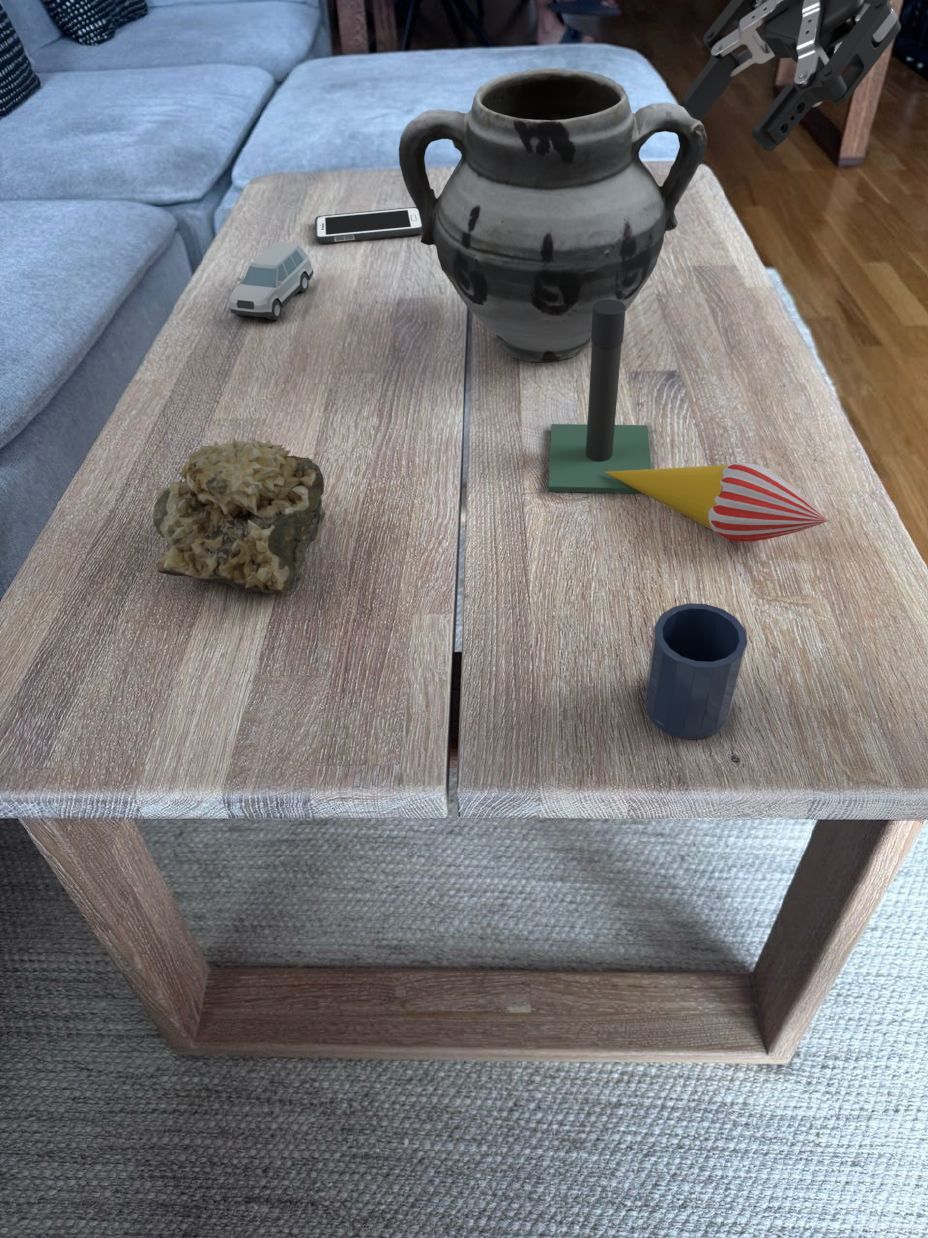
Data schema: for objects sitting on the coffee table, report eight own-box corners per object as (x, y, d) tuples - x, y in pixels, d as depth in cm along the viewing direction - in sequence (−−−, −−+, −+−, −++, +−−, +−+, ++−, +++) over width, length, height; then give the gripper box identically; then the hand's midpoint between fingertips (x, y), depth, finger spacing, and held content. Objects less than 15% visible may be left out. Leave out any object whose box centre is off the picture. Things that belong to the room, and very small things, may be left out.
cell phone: (425, 234, 121) (424, 227, 121) (315, 244, 121) (314, 237, 120) (420, 213, 127) (419, 205, 126) (315, 223, 126) (314, 215, 125)
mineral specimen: (123, 600, 72) (80, 498, 65) (193, 502, 81) (162, 404, 74) (295, 623, 69) (270, 519, 62) (348, 519, 78) (331, 418, 71)
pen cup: (724, 677, 63) (741, 604, 58) (733, 741, 59) (752, 668, 54) (642, 674, 64) (652, 601, 59) (646, 737, 60) (657, 665, 55)
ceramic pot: (672, 295, 105) (702, 47, 88) (689, 399, 89) (730, 120, 72) (427, 296, 108) (409, 56, 91) (400, 397, 92) (372, 127, 74)
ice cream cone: (612, 509, 83) (830, 563, 71) (575, 504, 78) (802, 560, 66) (629, 441, 82) (853, 484, 70) (592, 431, 77) (827, 475, 65)
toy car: (227, 323, 105) (217, 281, 102) (276, 277, 114) (269, 237, 111) (271, 329, 104) (262, 286, 100) (318, 281, 113) (312, 241, 109)
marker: (619, 455, 82) (632, 307, 72) (596, 465, 81) (606, 316, 71) (601, 442, 83) (611, 295, 74) (578, 452, 82) (586, 304, 73)
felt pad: (646, 430, 86) (647, 424, 85) (652, 493, 78) (653, 488, 78) (551, 429, 86) (551, 423, 86) (548, 491, 79) (548, 486, 79)
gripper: (796, -140, 64) (642, 71, 69) (953, -126, 54) (761, 118, 59) (838, -56, 69) (692, 135, 74) (988, -30, 59) (809, 187, 64)
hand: (723, 127), depth 66 cm, fingers open, 8 cm apart
